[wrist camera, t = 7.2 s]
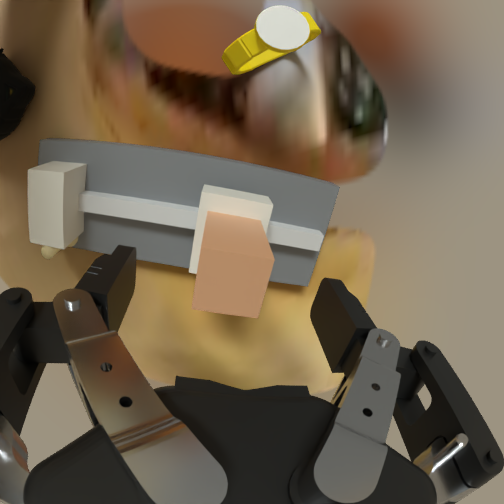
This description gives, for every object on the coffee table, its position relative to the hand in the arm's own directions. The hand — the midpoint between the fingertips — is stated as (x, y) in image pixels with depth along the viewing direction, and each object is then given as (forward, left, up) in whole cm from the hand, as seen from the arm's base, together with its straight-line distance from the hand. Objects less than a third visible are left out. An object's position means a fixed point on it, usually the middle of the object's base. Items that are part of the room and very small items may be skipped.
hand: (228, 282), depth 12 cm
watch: (-12, 0, -10) cm, 16 cm away
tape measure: (-8, -20, -10) cm, 24 cm away
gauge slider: (+1, 0, -8) cm, 8 cm away
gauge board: (0, -4, -10) cm, 11 cm away
